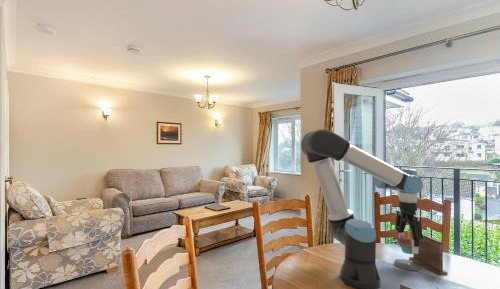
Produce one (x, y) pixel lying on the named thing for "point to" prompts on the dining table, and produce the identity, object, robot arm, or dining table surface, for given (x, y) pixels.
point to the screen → (430, 255)
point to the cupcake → (406, 243)
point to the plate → (408, 264)
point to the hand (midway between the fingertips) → (408, 249)
